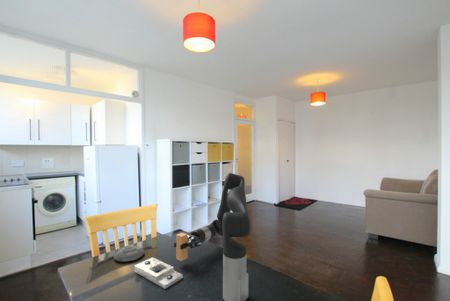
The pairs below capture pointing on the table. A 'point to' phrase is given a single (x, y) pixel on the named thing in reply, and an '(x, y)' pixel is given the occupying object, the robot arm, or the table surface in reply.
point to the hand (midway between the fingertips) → (177, 246)
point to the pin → (180, 240)
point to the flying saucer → (129, 253)
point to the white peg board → (161, 278)
